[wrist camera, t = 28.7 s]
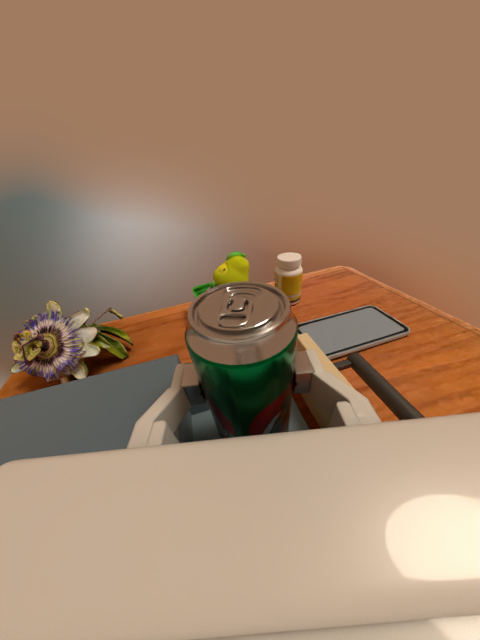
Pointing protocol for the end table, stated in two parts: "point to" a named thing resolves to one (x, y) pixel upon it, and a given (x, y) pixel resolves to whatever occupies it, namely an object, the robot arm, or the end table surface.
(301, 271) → the supplement bottle
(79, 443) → the cabinet
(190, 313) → the soda can
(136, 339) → the end table surface
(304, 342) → the drawer
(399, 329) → the smartphone
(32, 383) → the end table surface
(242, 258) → the fruit basket
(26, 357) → the passion flower
